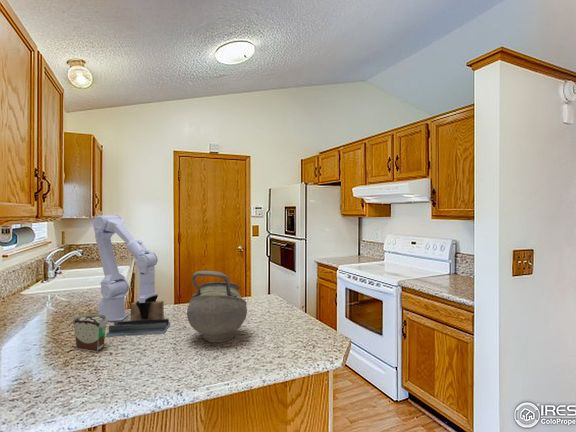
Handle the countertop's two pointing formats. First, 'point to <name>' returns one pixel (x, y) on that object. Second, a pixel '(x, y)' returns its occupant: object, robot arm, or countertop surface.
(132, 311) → the door panel
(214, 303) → the pot
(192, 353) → the countertop surface
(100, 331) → the food container
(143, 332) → the track
